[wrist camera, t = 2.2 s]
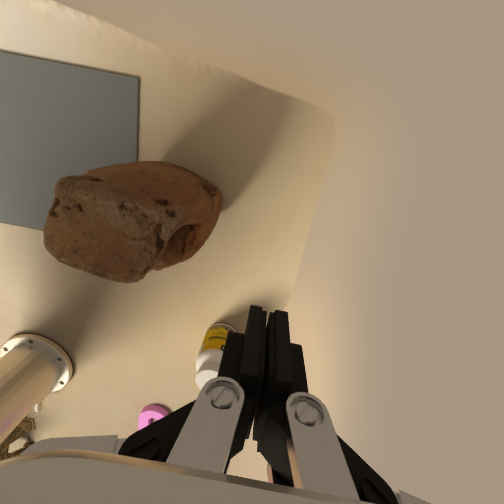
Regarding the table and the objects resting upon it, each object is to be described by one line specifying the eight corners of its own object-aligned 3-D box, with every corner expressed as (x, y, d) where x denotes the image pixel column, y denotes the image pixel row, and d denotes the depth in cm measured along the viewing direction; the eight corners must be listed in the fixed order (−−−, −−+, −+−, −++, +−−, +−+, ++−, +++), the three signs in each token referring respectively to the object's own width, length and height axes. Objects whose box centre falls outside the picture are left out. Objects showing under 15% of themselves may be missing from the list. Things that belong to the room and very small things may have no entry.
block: (142, 206, 39) (26, 260, 20) (155, 153, 36) (34, 159, 18) (215, 234, 40) (167, 309, 21) (232, 184, 37) (194, 221, 19)
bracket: (168, 452, 57) (154, 491, 51) (141, 448, 57) (125, 486, 51) (170, 406, 53) (156, 443, 46) (141, 402, 53) (123, 437, 46)
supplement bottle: (243, 329, 45) (236, 374, 36) (231, 353, 47) (222, 402, 38) (212, 317, 45) (197, 360, 36) (201, 342, 47) (184, 389, 38)
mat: (134, 246, 41) (134, 247, 41) (-18, 218, 41) (-20, 218, 41) (139, 78, 33) (138, 77, 33) (-49, 42, 33) (-52, 41, 33)
